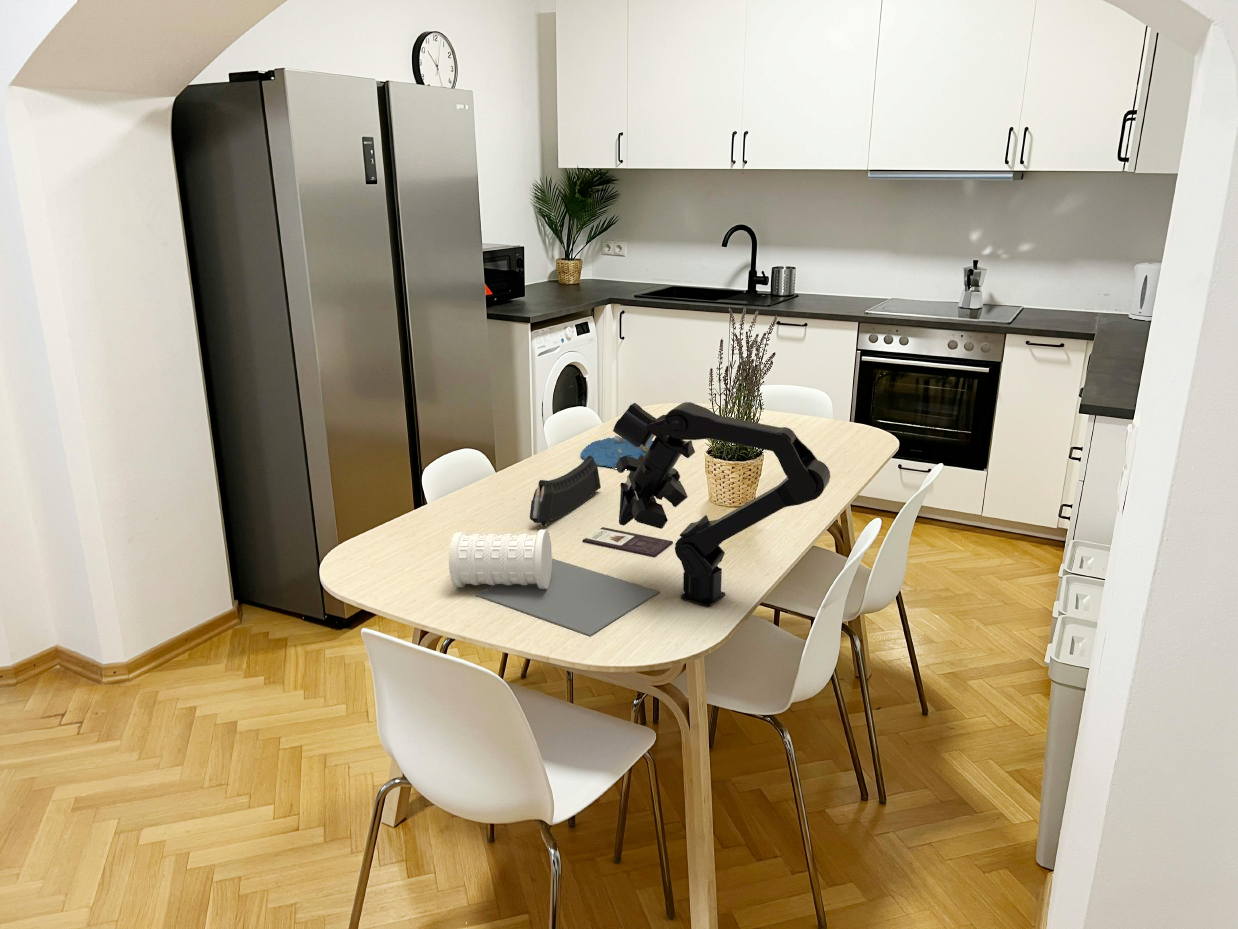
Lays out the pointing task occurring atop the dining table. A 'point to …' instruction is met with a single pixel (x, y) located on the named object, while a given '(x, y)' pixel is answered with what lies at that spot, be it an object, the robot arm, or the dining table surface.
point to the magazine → (564, 492)
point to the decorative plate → (612, 451)
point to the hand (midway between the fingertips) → (621, 524)
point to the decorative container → (501, 559)
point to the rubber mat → (573, 598)
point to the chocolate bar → (628, 542)
